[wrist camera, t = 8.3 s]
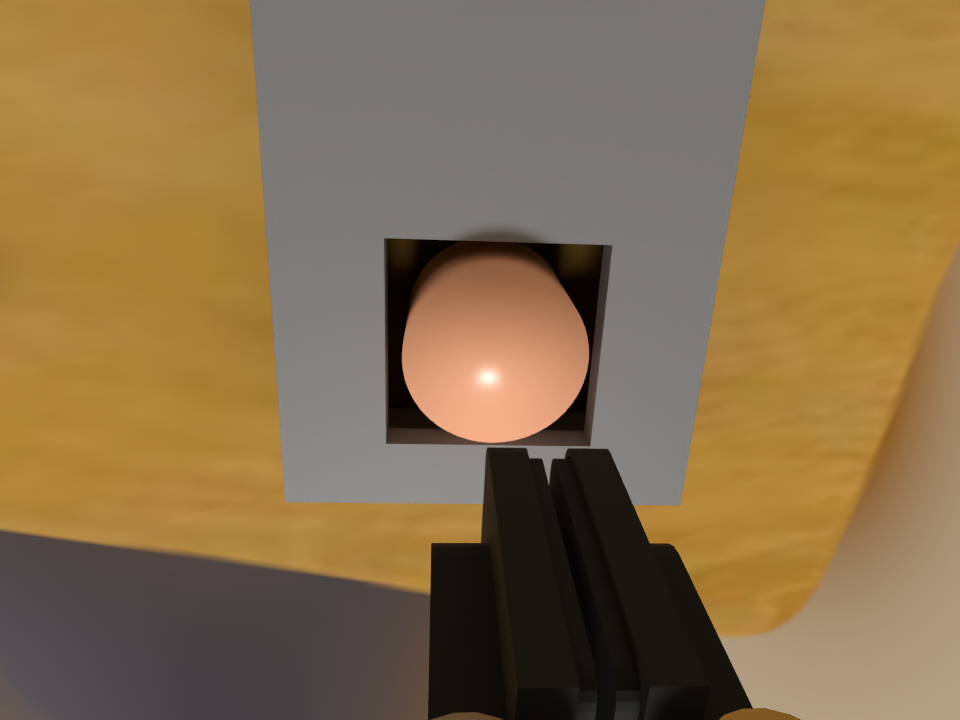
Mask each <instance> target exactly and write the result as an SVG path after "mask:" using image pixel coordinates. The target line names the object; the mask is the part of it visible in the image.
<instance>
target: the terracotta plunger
mask: <svg viewBox="0 0 960 720" xmlns="http://www.w3.org/2000/svg"><path fill="white" fill-rule="evenodd" d="M588 362H589V345H588V337H587V333H586V329H585V326H584V324H583V321H582V319H581V316H580V315H579V313H578V311H577V310H576V308H575V306H574V305H573V303H572V301H571V300H570V298H569V296H568V295H567V293H566V291H565V290H564V288H563V286H562V285H561V283H560V281H559V280H558V278H557V276H556V275H555V273H554V271H553V270H552V268H551V267H550V266H549V265H548V263H547V262H546V261H545V260H544V259H543V258H542V257H541V256H540V255H539V254H537V253H536V252H535V251H533V250H532V249H531V248H529V247H527V246H525V245H523V244H521V243H519V242H493V241H460V242H458V243H456V244H453V245H451V246H449V247H448V248H446V249H444V250H443V251H441V252H440V253H439V254H437V255H436V256H435V257H434V258H433V259H432V260H431V261H430V262H429V263H428V264H427V265H426V266H425V268H424V269H423V270H422V272H421V273H420V275H419V277H418V279H417V280H416V282H415V285H414V288H413V290H412V293H411V298H410V303H409V309H408V315H407V322H406V328H405V334H404V340H403V348H402V367H403V373H404V378H405V381H406V384H407V387H408V390H409V392H410V394H411V396H412V398H413V399H414V401H415V403H416V404H417V405H418V407H419V408H420V409H421V411H422V412H423V413H424V414H425V415H426V416H427V417H428V418H429V419H430V420H431V421H433V422H434V423H435V424H436V425H438V426H439V427H441V428H443V429H444V430H446V431H447V432H450V433H452V434H454V435H456V436H459V437H462V438H465V439H468V440H473V441H478V442H488V443H497V442H508V441H514V440H518V439H521V438H525V437H528V436H530V435H532V434H535V433H537V432H539V431H541V430H542V429H544V428H546V427H548V426H549V425H550V424H552V423H553V422H554V421H556V420H557V419H558V418H559V417H560V416H561V415H562V414H563V413H565V411H566V410H567V409H568V408H569V407H570V405H571V404H572V403H573V401H574V400H575V398H576V397H577V395H578V393H579V391H580V389H581V387H582V385H583V383H584V379H585V376H586V373H587V368H588Z"/></svg>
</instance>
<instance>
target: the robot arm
mask: <svg viewBox="0 0 960 720" xmlns="http://www.w3.org/2000/svg"><path fill="white" fill-rule="evenodd" d="M429 651H430V652H429V701H428V720H800V719H798V718H796V717H794V716H792V715H790V714H786V713H782V712H778V711H774V710H769V709H766V708H757V709H755V708H752V706H751V703H750V701H749V699H748V697H747V695H746V693H745V691H744V689H743V687H742V685H741V683H740V681H739V678H738V676H737V674H736V672H735V670H734V668H733V666H732V664H731V662H730V660H729V658H728V655H727V653H726V651H725V649H724V647H723V645H722V643H721V641H720V639H719V637H718V635H717V633H716V630H715V628H714V626H713V624H712V622H711V620H710V618H709V616H708V614H707V612H706V610H705V608H704V605H703V603H702V601H701V599H700V597H699V595H698V593H697V591H696V589H695V587H694V585H693V583H692V580H691V578H690V576H689V574H688V572H687V570H686V568H685V566H684V564H683V562H682V560H681V558H680V555H679V554H678V552H677V551H676V549H675V547H674V546H672V545H670V544H650V543H649V541H648V539H647V536H646V534H645V532H644V529H643V527H642V525H641V522H640V520H639V518H638V515H637V513H636V511H635V508H634V506H633V504H632V501H631V499H630V497H629V494H628V492H627V490H626V487H625V485H624V483H623V480H622V478H621V476H620V473H619V471H618V469H617V467H616V464H615V462H614V460H613V457H612V455H611V453H610V451H609V450H608V449H592V448H568V449H567V451H566V454H565V459H558V458H553V460H552V463H551V469H550V480H549V483H548V479H547V475H546V471H545V467H544V463H543V460H542V459H541V458H529V454H528V451H527V448H496V447H487V450H486V460H485V479H484V497H483V516H482V535H481V543H431V595H430V648H429Z"/></svg>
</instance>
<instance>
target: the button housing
mask: <svg viewBox="0 0 960 720" xmlns="http://www.w3.org/2000/svg"><path fill="white" fill-rule="evenodd" d="M764 6H765V0H250V9H251V23H252V37H253V51H254V66H255V80H256V94H257V108H258V122H259V136H260V151H261V165H262V179H263V193H264V207H265V222H266V236H267V250H268V264H269V278H270V293H271V307H272V321H273V335H274V349H275V364H276V378H277V392H278V406H279V420H280V435H281V449H282V463H283V477H284V491H285V502H330V503H458V504H483V497H484V479H485V460H486V450H487V447H496V448H527V451H528V454H529V458H541V459H542V460H543V463H544V467H545V471H546V475H547V479H548V483H549V480H550V469H551V463H552V460H553V458H558V459H565V454H566V451H567V449H568V448H592V449H608V450H609V451H610V453H611V455H612V457H613V460H614V462H615V464H616V467H617V469H618V471H619V473H620V476H621V478H622V480H623V483H624V485H625V487H626V490H627V492H628V494H629V497H630V499H631V501H632V504H633V505H680V503H681V497H682V491H683V485H684V479H685V473H686V468H687V462H688V456H689V450H690V444H691V438H692V432H693V426H694V420H695V414H696V408H697V402H698V397H699V391H700V385H701V379H702V373H703V367H704V361H705V355H706V349H707V343H708V337H709V331H710V326H711V320H712V314H713V308H714V302H715V296H716V290H717V284H718V278H719V272H720V266H721V260H722V254H723V249H724V243H725V237H726V231H727V225H728V219H729V213H730V207H731V201H732V195H733V189H734V183H735V178H736V172H737V166H738V160H739V154H740V148H741V142H742V136H743V130H744V124H745V118H746V112H747V107H748V101H749V95H750V89H751V83H752V77H753V71H754V65H755V59H756V53H757V47H758V41H759V35H760V30H761V24H762V18H763V12H764ZM387 238H395V239H428V240H460V241H493V242H526V243H558V244H591V245H604V247H603V256H602V266H601V275H600V284H599V294H598V303H597V313H596V322H595V332H594V341H593V351H592V360H591V369H590V379H589V388H588V398H587V407H586V412H570V411H565V413H563V414H562V415H561V416H560V417H559V418H558V419H557V420H556V421H554V422H553V423H552V424H550V425H549V426H548V427H546V428H544V429H542V430H541V431H539V432H537V433H535V434H532V435H530V436H528V437H525V438H521V439H518V440H514V441H508V442H497V443H488V442H478V441H473V440H468V439H465V438H462V437H459V436H456V435H454V434H452V433H450V432H447V431H446V430H444V429H443V428H441V427H439V426H438V425H436V424H435V423H434V422H433V421H431V420H430V419H429V418H428V417H427V416H426V415H425V414H424V413H423V412H422V411H421V409H388V291H387Z"/></svg>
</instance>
